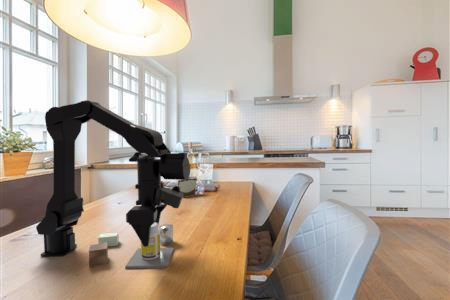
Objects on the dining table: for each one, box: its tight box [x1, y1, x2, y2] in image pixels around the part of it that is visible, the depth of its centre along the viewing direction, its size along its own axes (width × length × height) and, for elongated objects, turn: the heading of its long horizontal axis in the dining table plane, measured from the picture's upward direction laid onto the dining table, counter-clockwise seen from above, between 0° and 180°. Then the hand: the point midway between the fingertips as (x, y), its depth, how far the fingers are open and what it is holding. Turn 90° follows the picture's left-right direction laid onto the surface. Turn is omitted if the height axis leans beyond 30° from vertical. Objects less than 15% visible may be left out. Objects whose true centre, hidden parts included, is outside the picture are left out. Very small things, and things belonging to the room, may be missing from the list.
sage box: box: [97, 232, 120, 247], centre depth 76 cm, size 5×3×3 cm, turn 105°
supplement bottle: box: [140, 222, 161, 260], centre depth 66 cm, size 5×5×8 cm
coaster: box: [124, 246, 175, 270], centre depth 67 cm, size 10×10×1 cm
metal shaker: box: [158, 223, 174, 247], centre depth 77 cm, size 4×4×5 cm
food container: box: [176, 176, 198, 198], centre depth 140 cm, size 12×6×10 cm, turn 130°
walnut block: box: [88, 243, 109, 268], centre depth 65 cm, size 4×4×4 cm
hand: (150, 238), depth 66 cm, fingers open, 9 cm apart
